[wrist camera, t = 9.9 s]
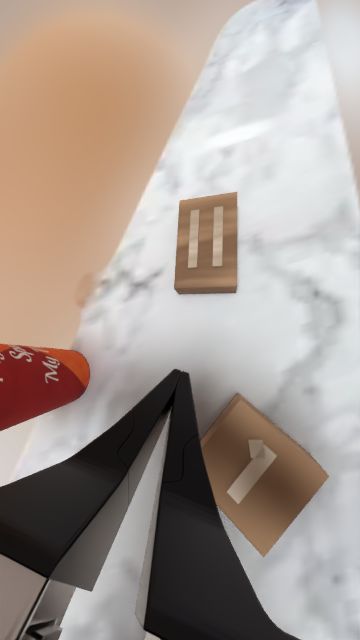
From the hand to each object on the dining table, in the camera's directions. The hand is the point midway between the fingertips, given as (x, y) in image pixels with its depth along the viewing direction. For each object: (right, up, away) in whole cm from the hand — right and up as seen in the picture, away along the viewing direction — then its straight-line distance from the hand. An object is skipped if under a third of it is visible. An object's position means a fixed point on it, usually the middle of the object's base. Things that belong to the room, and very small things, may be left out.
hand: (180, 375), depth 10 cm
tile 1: (+6, -9, +6) cm, 12 cm away
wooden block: (+3, +6, +8) cm, 11 cm away
